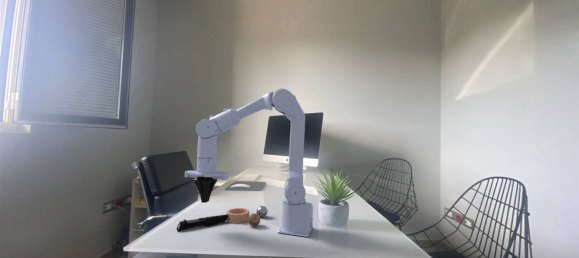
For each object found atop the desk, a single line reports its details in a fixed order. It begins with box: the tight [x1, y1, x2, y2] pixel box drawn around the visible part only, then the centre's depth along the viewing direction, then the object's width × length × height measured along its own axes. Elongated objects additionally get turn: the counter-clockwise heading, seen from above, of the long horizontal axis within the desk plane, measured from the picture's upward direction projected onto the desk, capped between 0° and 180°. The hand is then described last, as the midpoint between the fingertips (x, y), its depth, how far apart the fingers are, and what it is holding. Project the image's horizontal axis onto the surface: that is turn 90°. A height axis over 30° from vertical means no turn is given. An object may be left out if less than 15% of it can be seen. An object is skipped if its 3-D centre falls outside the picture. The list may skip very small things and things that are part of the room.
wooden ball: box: [247, 212, 261, 228], centre depth 75 cm, size 4×4×4 cm
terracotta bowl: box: [226, 207, 251, 224], centre depth 81 cm, size 8×8×3 cm
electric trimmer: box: [176, 213, 228, 233], centre depth 74 cm, size 4×16×3 cm, turn 122°
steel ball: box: [256, 205, 268, 218], centre depth 84 cm, size 4×4×4 cm
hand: (205, 201), depth 72 cm, fingers closed
